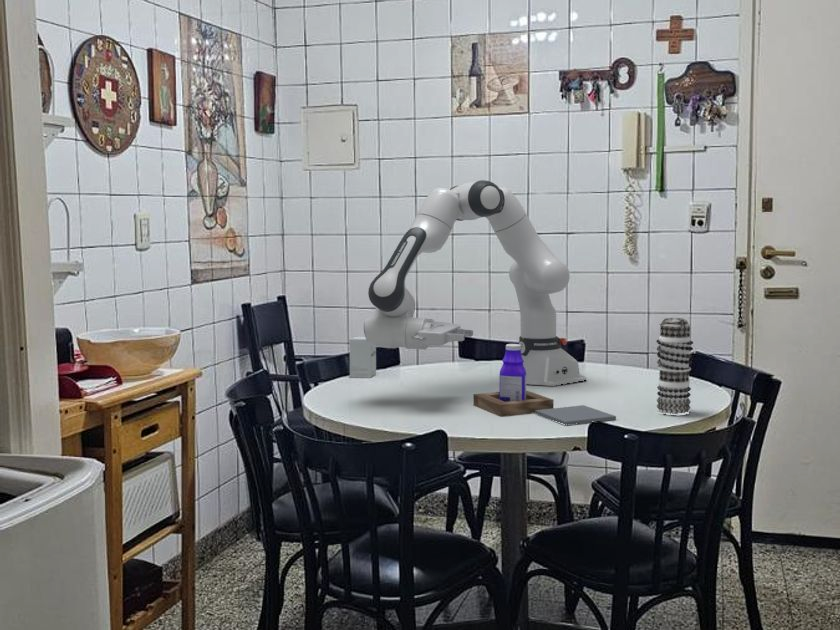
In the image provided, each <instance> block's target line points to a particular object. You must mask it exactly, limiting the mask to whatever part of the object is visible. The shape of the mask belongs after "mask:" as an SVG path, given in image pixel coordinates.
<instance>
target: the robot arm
mask: <svg viewBox="0 0 840 630" xmlns="http://www.w3.org/2000/svg"><path fill="white" fill-rule="evenodd" d="M481 218H486V219H487V220H488V221H489V224H490V226H491V228H492V230H493V232H494V233H495V235H496V237H497V239H498V241H499V242H500V245H501V246H502V248H503V251H505V253H506V254H507V255H508V256H510V257H511V258H512V259H513V262H512V263H511V264H510V267H509V270H508V271H509V272H508V277H509V280H510V281H511V284H513V287H514V290H515V294H516V297H517V301H518V302H517V303H518V307H519V313H520V336H519V338H518V344H519V345H521V356H522V358H523V360H524V362H523V366H524V368H525V370H526V385H533V386H548V387H556V385H557V386H561V384H563V385H568V384H567V383H570V384H574V383H573V382H577V383H579V382H578V381H583V382H585V381H584V380H587V381H588V378H587V376H585V375H583V374H581V373H580V367H579V362H578V360H577V359H575V358H574V357H573V356H572V355H571V354H569V353H568V352H567V351H566V350H564V349H563V348H562V345H564V346H566V345H567V344H568V342H569V341H568V339H567V338H565V337H561V338H560V337H559V336H557V312H556V308H555V307H554V306H553V303H552V301H551V296H550V294H555V293H559V292H561V291H563V290H565V289H566V287H567V286H568V284H569V282H570V278H571V277H570V270H569V268H568V266H567V265H566V264H565V263H564V262H562V261H561V259H558V257H557V256H556V255H555V254H554V253H553V252H552V250H551V249H550V248H549V246H548V245H547V244H546V243H545V242H544V241H543V239H541V237H540V235H539V234H538V232H537V231H536V229H535V228H534V225H533V224H532V222H531V219H530V218H529V215H528V214H527V212H526V211H525V209H524V206H522V204H521V202H520V201H519V200H518V198H517V197H516V196H515V194H514V193H513V192H512V191H511V190H510V189H509V188H507V187H504V186H500V187H499V186H498V185H497V184H495V182H492V181H490V180H484V179H482V180H481V179H480V180H477V181H474V180H473V181H468V182H464V183H463V184H459V185H455V186H452V187H451V188H446V187H436V188H434V189H432V190H431V191H430V193H429V194H428V195H427V196H426V198H425V199H424V201H423V202H422V204H421V206H420V208H419V210H418V211H417V214H416V215H415V218H414V219H413V221H412V224H411V225H410V227H409V229H408V230H407V231H406V232H405V233H404V235H403V236H402V238H401V239H400V241H399V243H398V245H397V246H396V248H395V249H394V251H393V253H392V254H391V257H390V258H389V259H388V262H387V263H386V265H385V266H384V268H383V269H382V270H381V271H380V273H378V274H377V275H376V277H374V279H373V280H372V281H371V282H370V283H369V288H368V293H367V294H368V299H369V301H370V303H371V304H372V305H373V307H375V309H374V311H373V312H372V313H371V315H370V316H368V317H367V318H366V319H364V323H363V333H364V337H366V339H367V341H368V342H369V343H370V344H371V345H373V346H376V348H383V349H384V348H385V349H397V348H404V349H408V350H424V351H425V350H427V349H428V347H429V346H439V347H440V346H444V345H445V344H448V343H451V342H463V341H465V339H466V337H467V338H469V337H470V338H471V337H473V336H474V330H472V329H466V328H461V325H460V324H457V323H451V322H445V321H435V319H431V318H427V317H414V313H415V310H416V301H415V298H414V296H413V295H412V293H411V292H410V290H408V288H407V287H406V278H407V276H408V274H409V272H410V271H411V269H412V267H413V265H414V263H415V262H416V260H417V258H418V257H419V256H420V255H421V254H422V253H428V254H431V253H432V254H433V253H435V252H438V251H439V250H441V249H442V248H443V247H444V245H445V244H446V242H447V240H448V238H449V237H450V234H451V232H452V230H453V227H454V225H455V223H456V221H457V222H458V221H459V222H461V221H463V222H464V221H474V220H475V221H476V220H478V219H481Z"/></svg>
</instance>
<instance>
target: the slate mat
mask: <svg viewBox="0 0 840 630" xmlns="http://www.w3.org/2000/svg"><path fill="white" fill-rule="evenodd" d="M534 414H535V415H536V414H538V415H537V416H539V415H540V416H539V417H541V416H543V417H542V418H544V417H545V418H544V419H547V418H548V419H547V420H549V419H551V420H550V421H552V420H554V421H557V422H560V423H563V424H565V425H566V424H576V423H585V424H591V423H590V422H592V421H603V422H610V421H616V420H617V416H616V415H614V414H610V413H608V412H605V411H603V410H598V409H596V408H594V407H593V408H592V407H591V406H587V405H583V404H582V405H572V406H564V407H555V408H554V407H553V409H543V410H535V413H534ZM554 421H553V422H554ZM557 422H556V423H557ZM560 423H559V424H560ZM565 425H564V426H565Z"/></svg>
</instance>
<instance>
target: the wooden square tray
mask: <svg viewBox="0 0 840 630" xmlns="http://www.w3.org/2000/svg"><path fill="white" fill-rule="evenodd" d="M472 399H473V400H472V401H473V406H475V407H478V408H480V409H483V410H484V411H487V412H490V413H491V414H494V415H497V416H498V417H499V416H500V417H506V416H507V415H509V416H516V414H518V415H523V414H522V413H527V414H533V413H532V412H535V410H543V409H553V408H554V402H555V401H554V399H553V398H549V397H547V396H543V395H541V394H539V393H535V392H533V391H530V390H527V389H526V400H520V401H510V402H504V401H502V400H499V391H495V392H494V391H493V392H485V393H483V392H482V393H475V394H473V397H472ZM507 417H508V416H507Z"/></svg>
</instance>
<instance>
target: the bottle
mask: <svg viewBox="0 0 840 630" xmlns="http://www.w3.org/2000/svg"><path fill="white" fill-rule="evenodd" d="M523 362H524V360H523V358H522V356H521V345H519V343H508V344H506V345H505V353H504V357H503V358H502V364H501V365H502V366H501V368H500V369H499V387H498V388H499V391H498V392H499V400H502V401H504V402H510V401H520V400H526V390H527V384H526V370H525V368H524V366H523Z"/></svg>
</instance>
